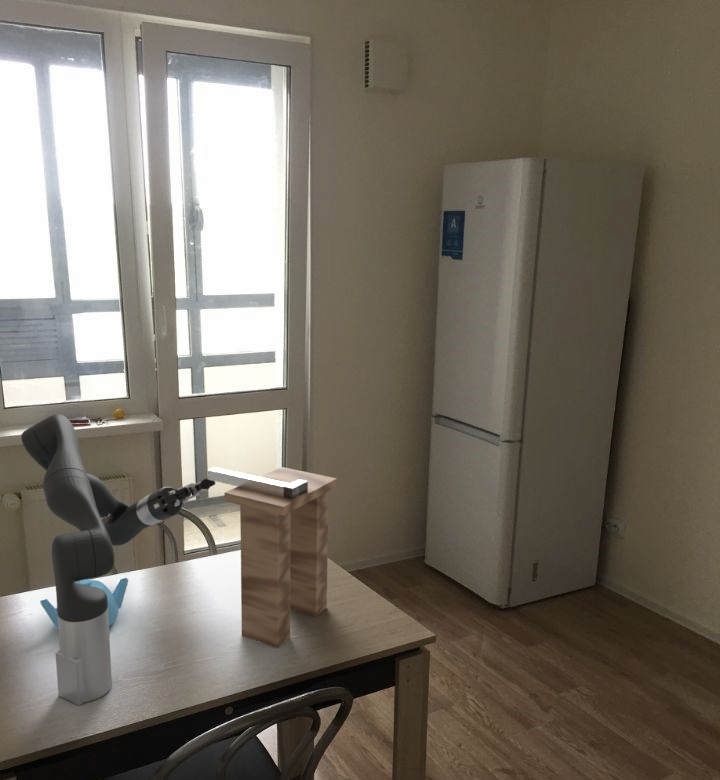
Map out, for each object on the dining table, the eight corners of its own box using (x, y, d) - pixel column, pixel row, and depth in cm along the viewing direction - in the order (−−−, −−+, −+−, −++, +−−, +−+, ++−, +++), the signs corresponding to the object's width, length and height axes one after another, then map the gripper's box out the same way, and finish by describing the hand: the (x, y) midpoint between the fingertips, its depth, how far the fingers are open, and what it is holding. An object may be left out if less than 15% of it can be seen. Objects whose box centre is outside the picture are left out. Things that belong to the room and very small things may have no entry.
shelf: (283, 651, 156) (283, 506, 149) (226, 631, 164) (224, 492, 157) (334, 609, 175) (337, 478, 168) (281, 592, 183) (281, 466, 176)
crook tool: (292, 499, 154) (292, 488, 153) (207, 479, 165) (207, 469, 165) (307, 491, 159) (307, 481, 158) (224, 472, 170) (224, 463, 170)
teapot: (133, 610, 172) (132, 569, 170) (103, 643, 158) (101, 599, 156) (75, 604, 174) (72, 564, 172) (40, 637, 160) (36, 593, 158)
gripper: (131, 500, 170) (173, 478, 162) (173, 484, 183) (214, 463, 174) (143, 529, 170) (187, 508, 162) (184, 511, 182) (227, 491, 174)
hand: (201, 485), depth 168 cm, fingers open, 8 cm apart
